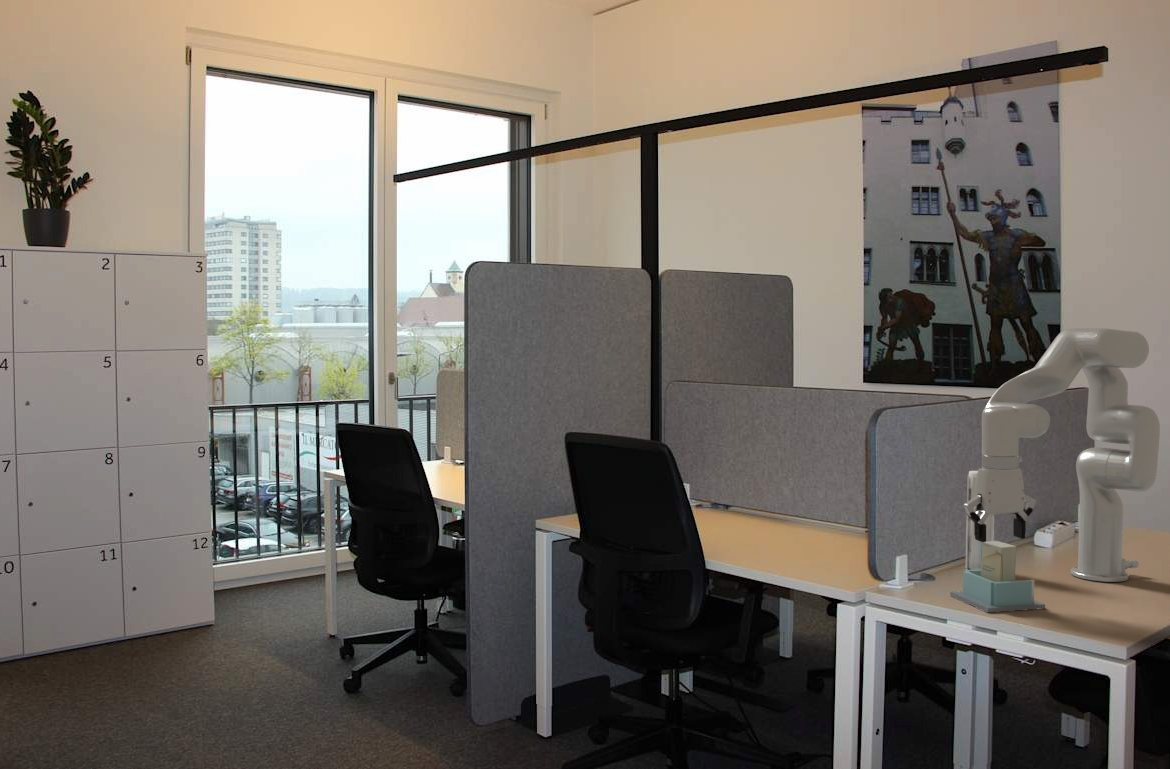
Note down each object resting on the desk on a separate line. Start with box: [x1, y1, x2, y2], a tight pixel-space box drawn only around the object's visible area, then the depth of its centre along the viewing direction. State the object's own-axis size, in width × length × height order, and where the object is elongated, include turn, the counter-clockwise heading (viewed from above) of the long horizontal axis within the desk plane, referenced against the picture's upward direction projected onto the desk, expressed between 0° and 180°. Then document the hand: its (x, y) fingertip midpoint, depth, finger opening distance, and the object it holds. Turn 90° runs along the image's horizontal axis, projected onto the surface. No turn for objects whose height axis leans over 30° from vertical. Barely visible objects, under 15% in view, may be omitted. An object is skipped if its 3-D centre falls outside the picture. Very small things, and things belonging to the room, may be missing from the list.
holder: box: [949, 569, 1046, 613], centre depth 222 cm, size 14×14×6 cm
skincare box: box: [981, 540, 1017, 582], centre depth 222 cm, size 6×4×12 cm
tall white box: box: [965, 470, 995, 570], centre depth 251 cm, size 6×6×25 cm
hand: (1000, 539), depth 222 cm, fingers open, 9 cm apart
